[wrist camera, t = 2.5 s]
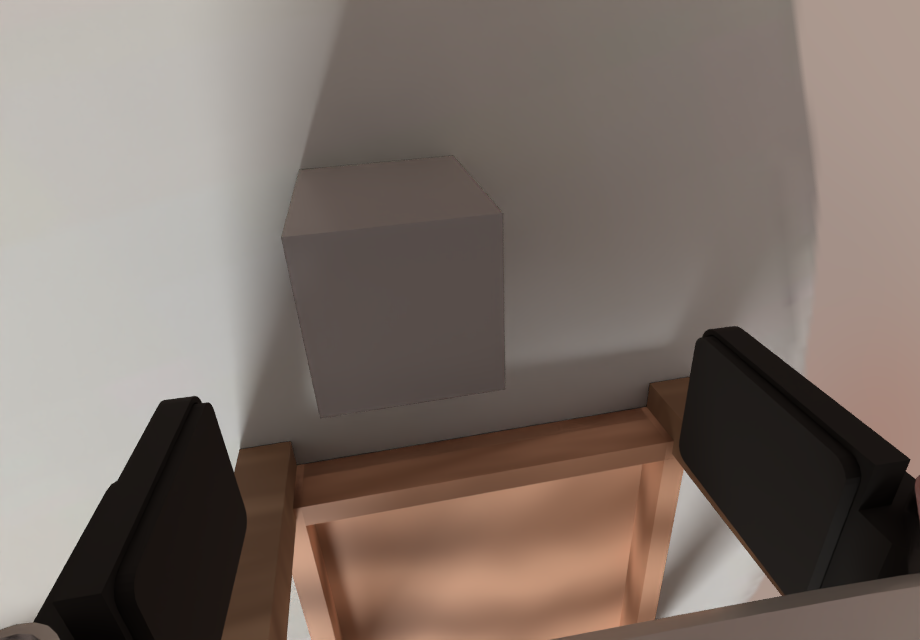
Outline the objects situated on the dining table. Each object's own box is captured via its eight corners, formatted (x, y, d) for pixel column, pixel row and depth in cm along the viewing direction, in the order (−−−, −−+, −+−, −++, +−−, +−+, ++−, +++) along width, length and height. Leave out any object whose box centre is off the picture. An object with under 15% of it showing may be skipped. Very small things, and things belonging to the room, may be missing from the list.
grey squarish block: (299, 169, 18) (281, 237, 12) (452, 155, 18) (502, 212, 13) (325, 307, 20) (320, 418, 15) (460, 290, 21) (505, 389, 15)
